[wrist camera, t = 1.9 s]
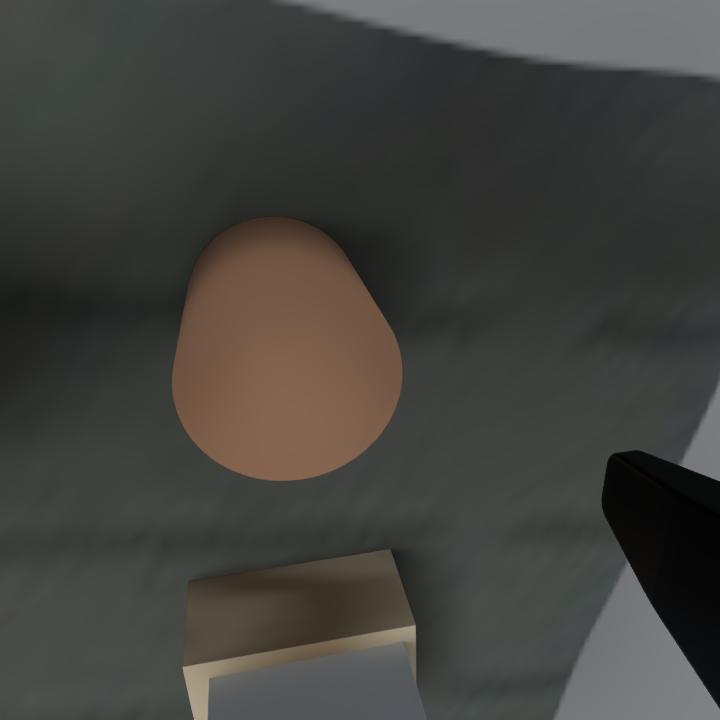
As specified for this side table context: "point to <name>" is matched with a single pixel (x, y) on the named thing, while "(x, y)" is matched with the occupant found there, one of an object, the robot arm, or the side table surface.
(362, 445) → the terracotta rounded cylinder
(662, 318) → the side table surface
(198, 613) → the oak base block
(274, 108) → the side table surface
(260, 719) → the grey-blue top block
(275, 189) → the side table surface
